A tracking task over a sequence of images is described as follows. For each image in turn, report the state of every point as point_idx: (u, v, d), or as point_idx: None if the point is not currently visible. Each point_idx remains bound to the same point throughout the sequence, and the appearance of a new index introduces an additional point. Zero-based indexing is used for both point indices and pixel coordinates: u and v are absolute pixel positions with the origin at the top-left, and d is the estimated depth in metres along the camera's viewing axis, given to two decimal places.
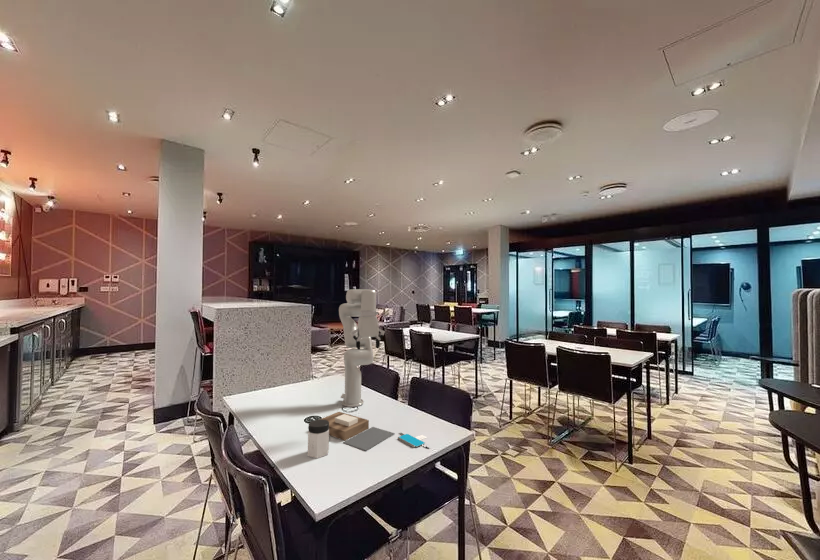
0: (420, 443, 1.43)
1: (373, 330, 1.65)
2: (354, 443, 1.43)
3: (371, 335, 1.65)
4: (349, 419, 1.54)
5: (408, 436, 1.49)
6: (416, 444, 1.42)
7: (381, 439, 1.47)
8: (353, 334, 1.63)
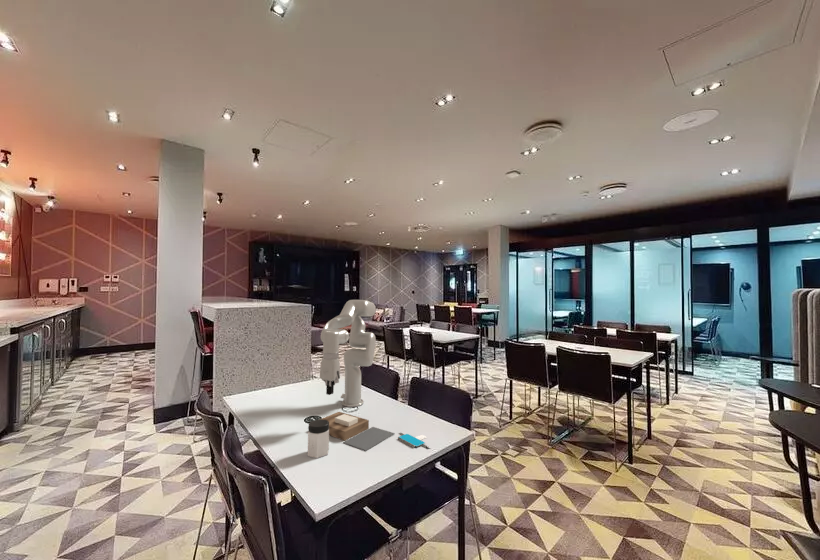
0: (420, 443, 1.43)
1: None
2: (354, 443, 1.43)
3: None
4: (349, 419, 1.54)
5: (408, 436, 1.49)
6: (416, 444, 1.42)
7: (381, 439, 1.47)
8: None
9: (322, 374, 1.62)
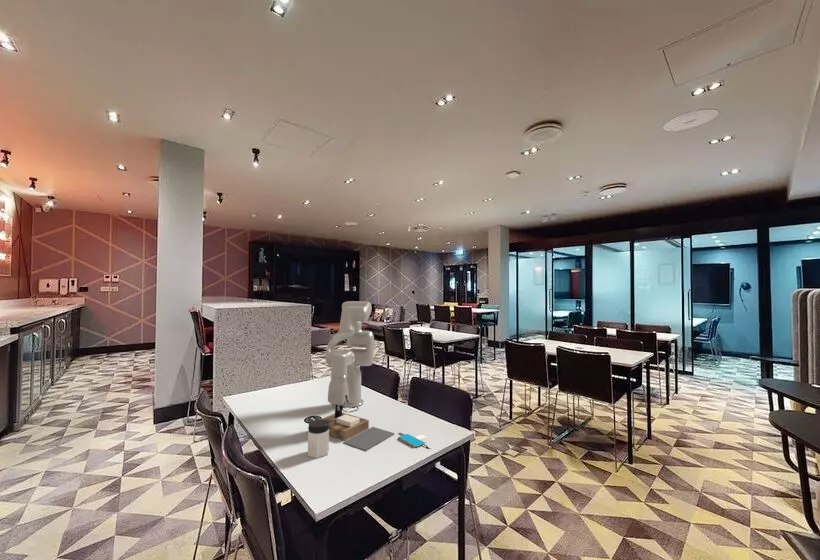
0: (420, 443, 1.43)
1: None
2: (354, 443, 1.43)
3: None
4: (350, 420, 1.54)
5: (408, 436, 1.49)
6: (416, 444, 1.42)
7: (381, 439, 1.47)
8: None
9: (330, 398, 1.59)
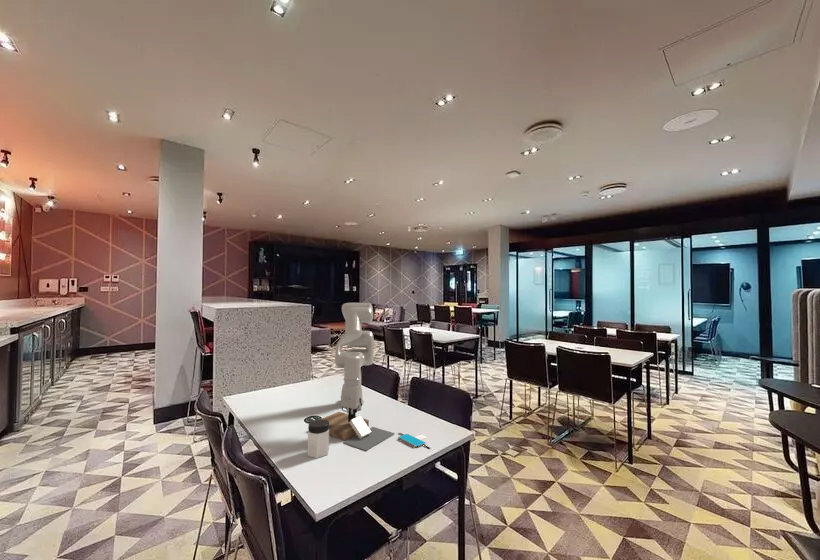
0: (421, 443, 1.43)
1: None
2: (354, 443, 1.43)
3: None
4: (362, 431, 1.49)
5: (408, 436, 1.49)
6: (417, 444, 1.42)
7: (381, 439, 1.47)
8: None
9: (343, 401, 1.54)
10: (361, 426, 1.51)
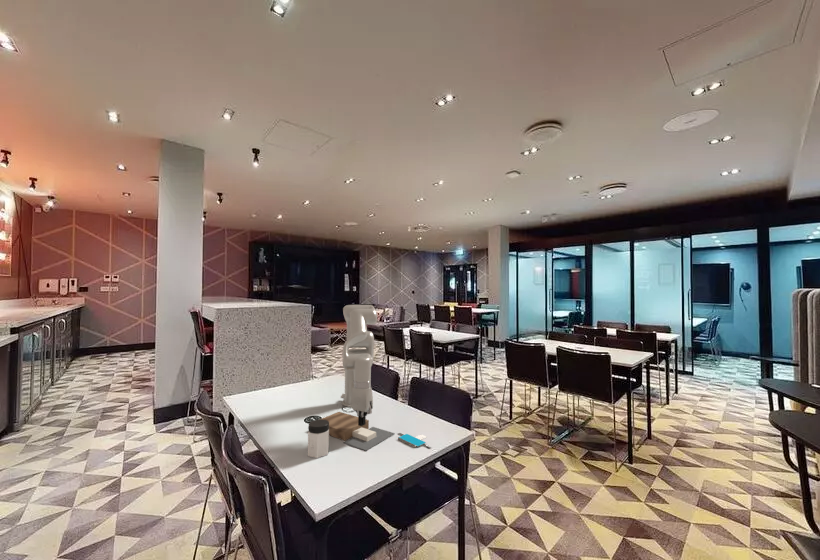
0: (421, 443, 1.43)
1: None
2: (354, 443, 1.43)
3: None
4: (367, 434, 1.47)
5: (408, 436, 1.49)
6: (417, 444, 1.42)
7: (381, 439, 1.47)
8: None
9: (353, 404, 1.51)
10: (364, 432, 1.50)
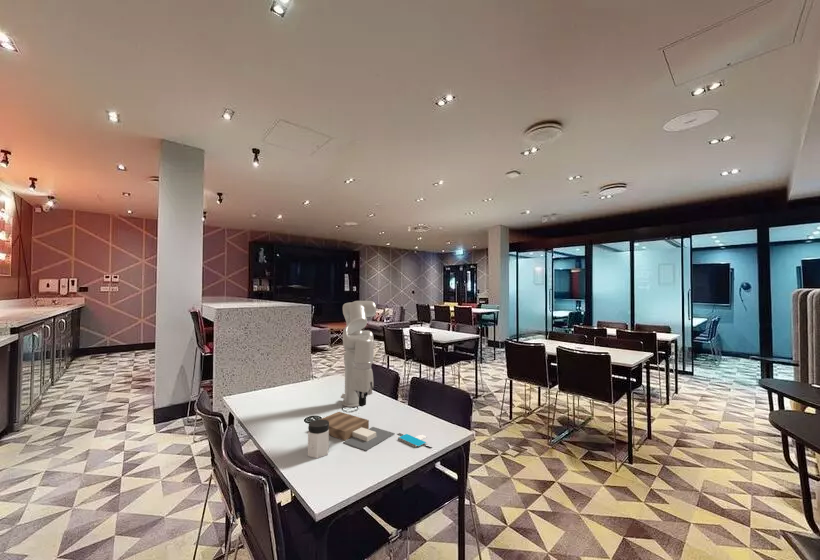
0: (421, 443, 1.43)
1: None
2: (354, 443, 1.43)
3: None
4: (367, 434, 1.47)
5: (408, 436, 1.49)
6: (418, 444, 1.42)
7: (381, 439, 1.47)
8: None
9: (354, 385, 1.51)
10: (364, 432, 1.50)
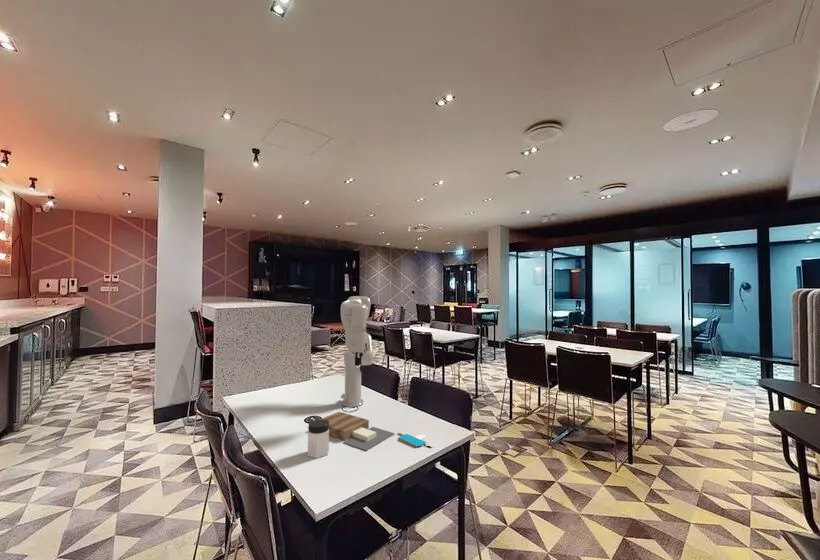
0: (422, 442, 1.43)
1: None
2: (354, 443, 1.43)
3: None
4: (367, 434, 1.47)
5: (408, 436, 1.49)
6: (418, 444, 1.42)
7: (381, 439, 1.47)
8: None
9: (350, 346, 1.69)
10: (364, 432, 1.50)
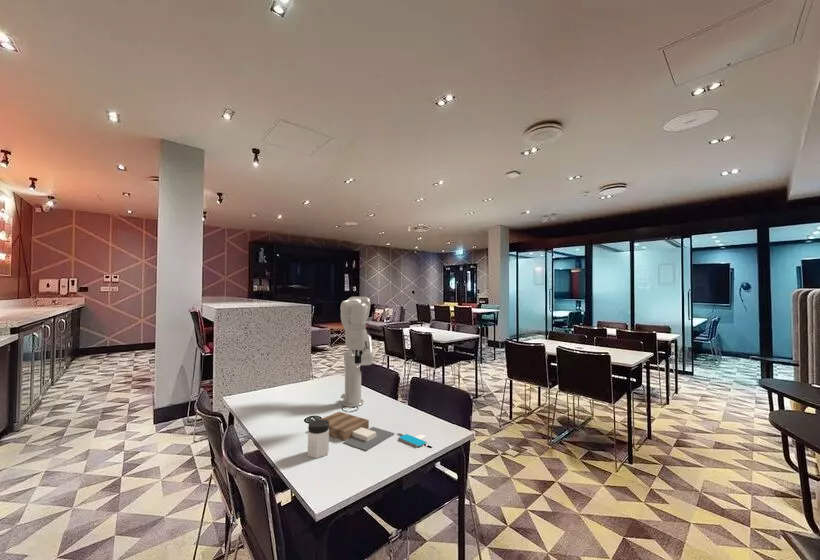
0: (422, 442, 1.43)
1: None
2: (354, 443, 1.43)
3: None
4: (367, 434, 1.47)
5: (408, 436, 1.49)
6: (418, 444, 1.42)
7: (381, 439, 1.47)
8: None
9: (350, 344, 1.69)
10: (364, 432, 1.50)
